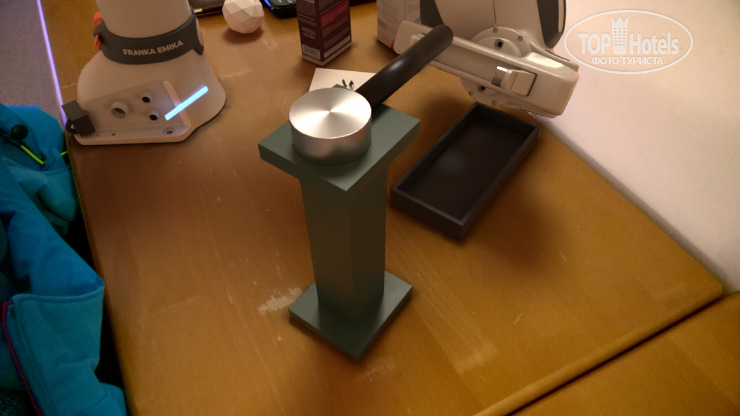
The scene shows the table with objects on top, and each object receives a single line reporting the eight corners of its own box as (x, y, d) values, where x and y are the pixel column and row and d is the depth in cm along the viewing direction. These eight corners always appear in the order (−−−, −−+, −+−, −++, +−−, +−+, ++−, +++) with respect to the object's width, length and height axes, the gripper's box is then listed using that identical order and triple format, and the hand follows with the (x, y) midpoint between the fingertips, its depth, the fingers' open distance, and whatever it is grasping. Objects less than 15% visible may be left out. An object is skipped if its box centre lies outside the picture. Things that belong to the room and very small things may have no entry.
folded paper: (386, 80, 82) (387, 69, 81) (374, 127, 74) (374, 116, 73) (315, 73, 84) (314, 63, 82) (296, 119, 76) (294, 108, 74)
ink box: (426, 51, 88) (432, -16, 79) (403, 60, 86) (406, -8, 77) (397, 30, 93) (399, -36, 84) (374, 38, 91) (374, -28, 82)
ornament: (239, 16, 96) (259, -18, 92) (258, 44, 94) (280, 10, 90) (208, 11, 91) (228, -26, 86) (228, 40, 89) (249, 4, 84)
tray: (473, 115, 76) (476, 100, 74) (536, 141, 72) (541, 126, 70) (389, 203, 64) (390, 188, 62) (459, 240, 60) (462, 226, 58)
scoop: (419, 32, 45) (421, 7, 44) (474, 52, 43) (479, 26, 41) (276, 144, 35) (271, 117, 34) (338, 177, 33) (336, 150, 31)
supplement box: (331, 37, 91) (325, -56, 79) (353, 45, 89) (349, -49, 77) (300, 58, 87) (288, -37, 75) (322, 67, 85) (313, -29, 73)
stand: (347, 254, 59) (335, 78, 41) (412, 293, 55) (430, 119, 37) (289, 316, 53) (247, 144, 35) (357, 363, 50) (347, 199, 32)
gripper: (433, 15, 63) (377, -3, 51) (594, 69, 55) (572, 62, 43) (416, 64, 65) (360, 58, 54) (568, 124, 57) (540, 131, 45)
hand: (456, 61), depth 48 cm, fingers open, 8 cm apart
